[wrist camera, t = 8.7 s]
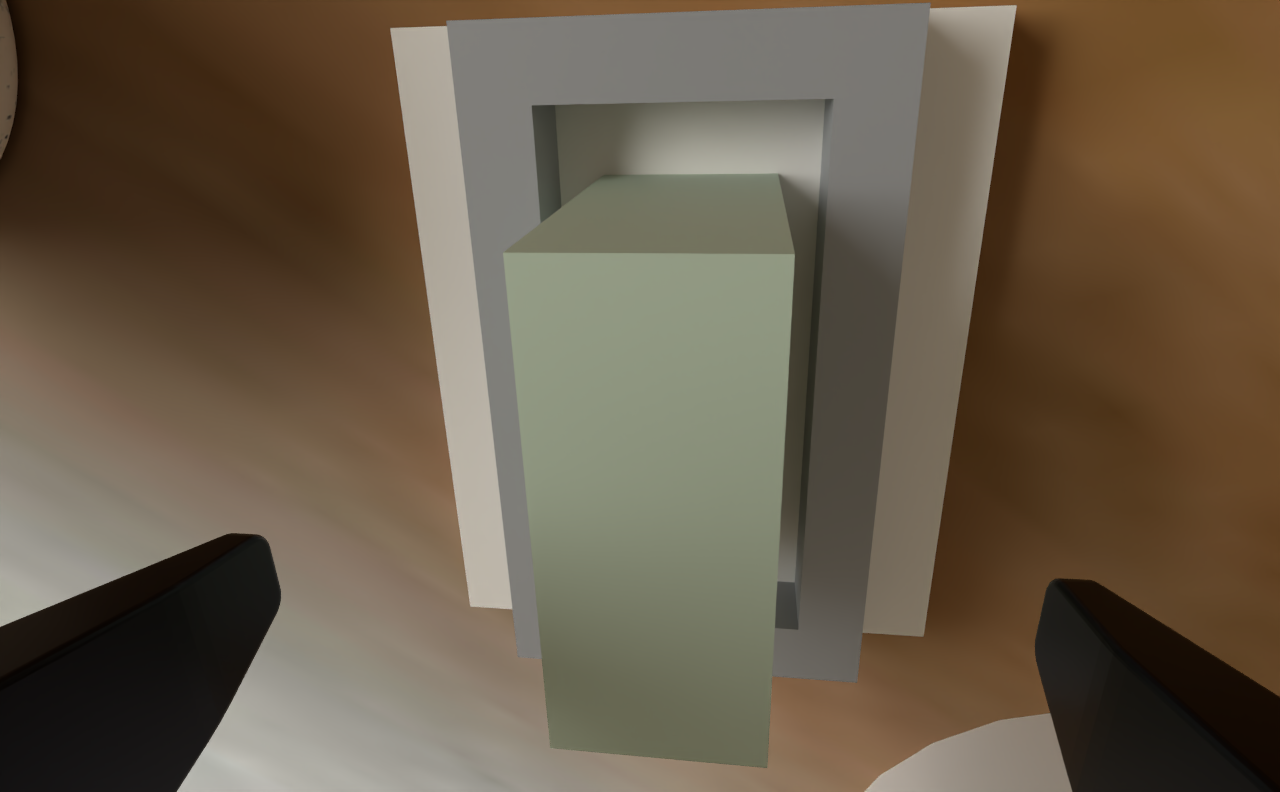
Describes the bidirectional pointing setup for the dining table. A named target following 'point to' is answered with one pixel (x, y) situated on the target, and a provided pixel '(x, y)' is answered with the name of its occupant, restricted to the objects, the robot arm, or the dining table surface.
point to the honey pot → (985, 761)
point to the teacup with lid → (7, 75)
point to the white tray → (823, 270)
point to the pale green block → (656, 458)
